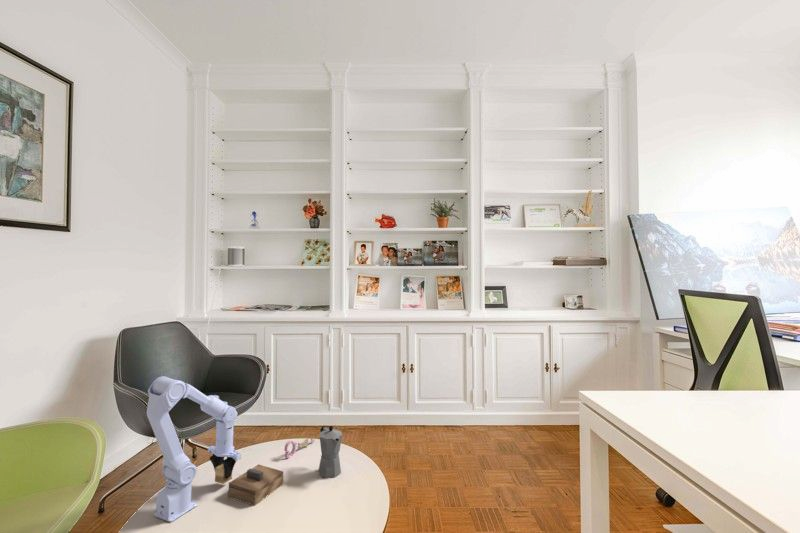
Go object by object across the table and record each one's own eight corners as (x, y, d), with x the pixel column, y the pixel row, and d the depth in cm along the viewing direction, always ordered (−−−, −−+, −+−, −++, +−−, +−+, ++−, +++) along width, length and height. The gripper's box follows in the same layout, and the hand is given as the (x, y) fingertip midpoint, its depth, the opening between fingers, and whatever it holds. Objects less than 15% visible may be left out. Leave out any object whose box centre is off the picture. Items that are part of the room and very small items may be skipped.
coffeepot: (348, 476, 144) (349, 429, 144) (325, 483, 138) (327, 435, 139) (330, 459, 156) (332, 416, 157) (309, 466, 151) (310, 421, 151)
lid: (255, 494, 124) (255, 483, 124) (228, 485, 129) (229, 475, 129) (283, 474, 137) (283, 464, 137) (258, 467, 142) (258, 457, 142)
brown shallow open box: (254, 505, 124) (255, 495, 124) (228, 496, 129) (228, 486, 129) (283, 484, 137) (283, 474, 137) (258, 476, 142) (258, 467, 142)
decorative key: (315, 448, 172) (285, 459, 155) (313, 447, 173) (282, 459, 155) (317, 433, 173) (287, 442, 156) (315, 432, 174) (285, 441, 156)
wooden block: (223, 484, 133) (223, 470, 133) (215, 481, 134) (215, 467, 134) (232, 478, 136) (232, 464, 137) (224, 476, 138) (224, 462, 138)
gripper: (248, 437, 137) (246, 475, 136) (219, 430, 142) (218, 466, 142) (232, 445, 130) (231, 484, 130) (203, 438, 136) (202, 475, 135)
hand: (223, 475), depth 135 cm, fingers closed on wooden block, 4 cm apart
